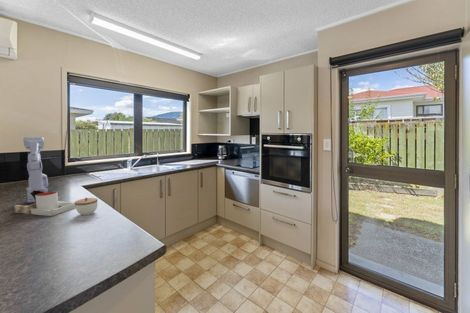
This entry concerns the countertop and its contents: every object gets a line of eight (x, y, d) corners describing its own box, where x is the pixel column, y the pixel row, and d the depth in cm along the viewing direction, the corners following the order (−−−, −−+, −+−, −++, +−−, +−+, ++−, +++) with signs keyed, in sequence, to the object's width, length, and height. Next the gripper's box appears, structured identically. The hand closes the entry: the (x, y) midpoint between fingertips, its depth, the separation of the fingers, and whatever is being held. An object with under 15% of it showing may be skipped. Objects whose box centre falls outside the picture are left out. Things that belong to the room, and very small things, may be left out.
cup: (40, 213, 126) (39, 197, 125) (34, 210, 131) (32, 194, 130) (61, 208, 134) (60, 192, 133) (54, 206, 139) (53, 190, 138)
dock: (31, 214, 126) (30, 208, 125) (57, 205, 140) (57, 201, 140) (51, 215, 122) (51, 210, 122) (76, 207, 137) (76, 202, 136)
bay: (14, 212, 129) (13, 205, 128) (42, 204, 143) (41, 198, 143) (29, 213, 126) (28, 207, 126) (55, 205, 141) (55, 199, 140)
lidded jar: (83, 210, 131) (82, 195, 130) (102, 210, 131) (101, 194, 130) (71, 217, 120) (69, 200, 119) (91, 216, 121) (90, 200, 120)
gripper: (19, 181, 130) (22, 204, 131) (38, 182, 127) (40, 205, 128) (33, 179, 137) (35, 200, 138) (50, 180, 133) (53, 202, 135)
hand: (38, 202), depth 133 cm, fingers closed
